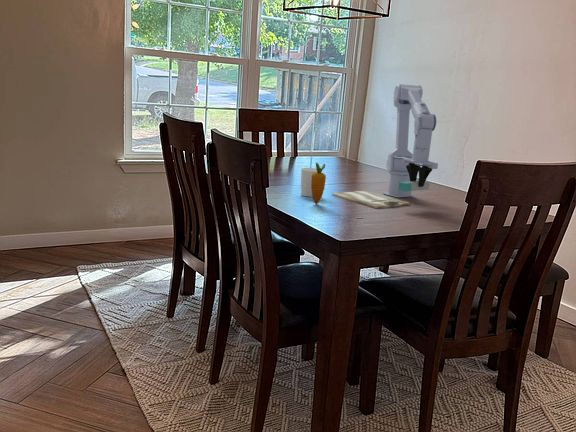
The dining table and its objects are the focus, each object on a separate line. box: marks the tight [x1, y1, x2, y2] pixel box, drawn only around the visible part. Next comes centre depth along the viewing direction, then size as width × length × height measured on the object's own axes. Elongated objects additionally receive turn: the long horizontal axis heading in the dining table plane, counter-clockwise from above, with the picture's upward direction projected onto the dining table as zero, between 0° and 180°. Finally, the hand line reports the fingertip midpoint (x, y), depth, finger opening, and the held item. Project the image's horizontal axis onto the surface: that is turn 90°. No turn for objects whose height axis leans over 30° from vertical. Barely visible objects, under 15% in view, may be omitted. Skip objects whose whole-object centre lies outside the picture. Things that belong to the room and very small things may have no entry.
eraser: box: [398, 180, 431, 192], centre depth 193 cm, size 14×3×3 cm, turn 127°
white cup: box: [300, 167, 323, 198], centre depth 203 cm, size 8×8×10 cm
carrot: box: [311, 162, 327, 205], centre depth 187 cm, size 5×5×15 cm
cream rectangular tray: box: [331, 190, 411, 209], centre depth 203 cm, size 18×24×2 cm
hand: (416, 185), depth 193 cm, fingers closed on eraser, 3 cm apart
